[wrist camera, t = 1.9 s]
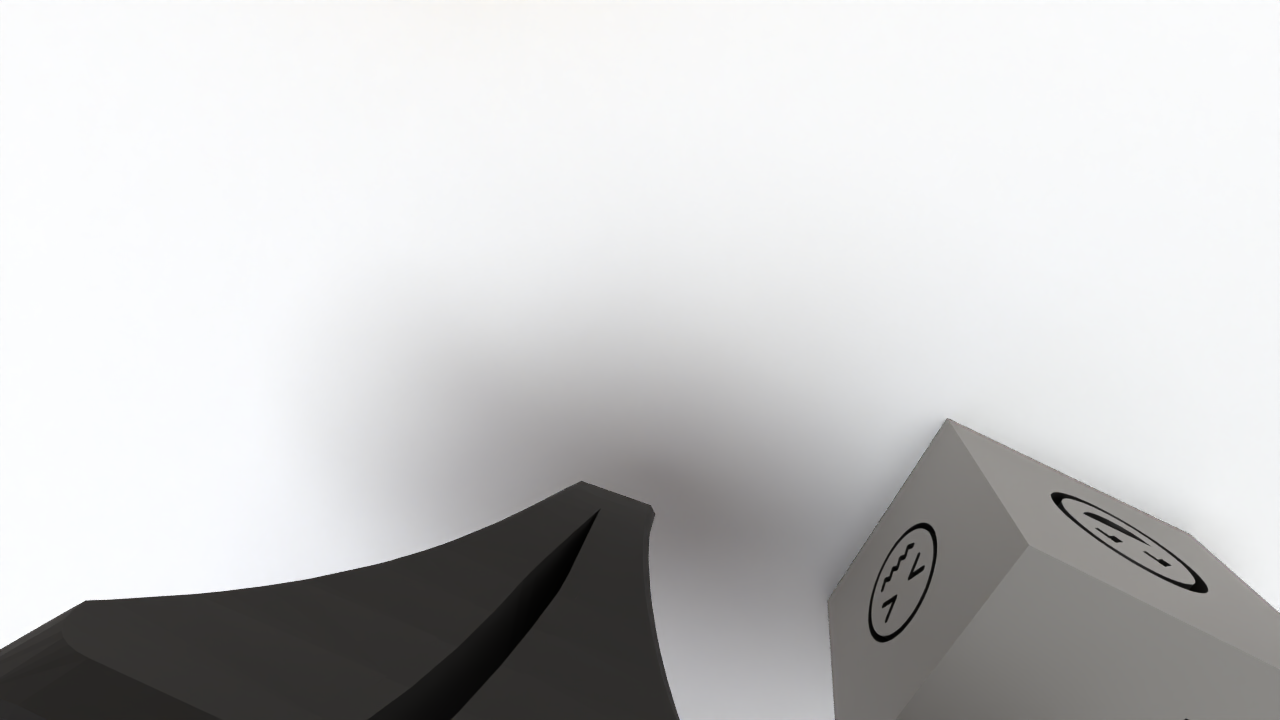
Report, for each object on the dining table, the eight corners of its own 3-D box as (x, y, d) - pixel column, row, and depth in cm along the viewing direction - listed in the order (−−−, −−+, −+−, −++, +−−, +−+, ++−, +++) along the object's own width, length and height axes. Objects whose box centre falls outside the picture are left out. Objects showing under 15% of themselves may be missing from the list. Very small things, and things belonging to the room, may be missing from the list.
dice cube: (1037, 709, 14) (1154, 968, 9) (827, 599, 15) (839, 792, 10) (1188, 533, 12) (1425, 741, 8) (946, 416, 13) (1029, 544, 8)
